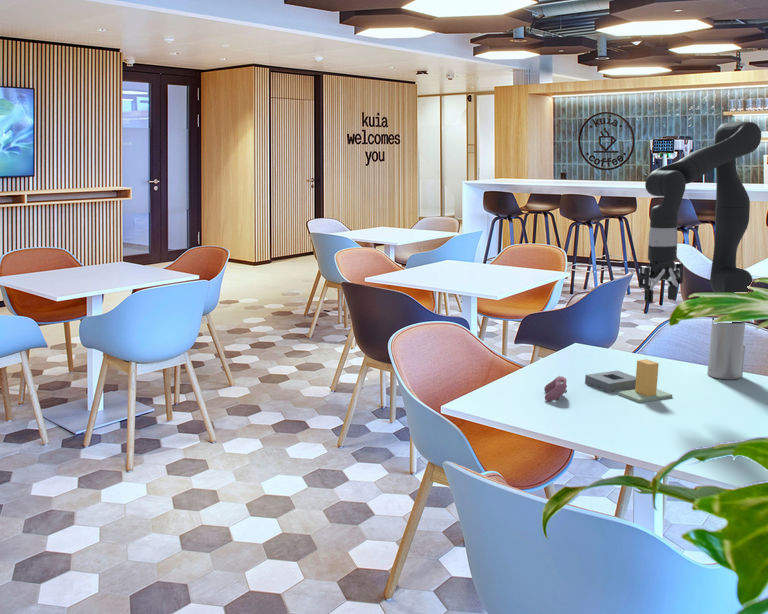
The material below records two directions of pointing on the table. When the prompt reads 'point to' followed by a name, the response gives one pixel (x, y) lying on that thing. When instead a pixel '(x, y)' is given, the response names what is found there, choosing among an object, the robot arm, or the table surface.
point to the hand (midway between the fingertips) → (660, 301)
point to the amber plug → (646, 377)
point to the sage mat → (642, 398)
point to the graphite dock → (611, 381)
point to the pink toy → (555, 388)
